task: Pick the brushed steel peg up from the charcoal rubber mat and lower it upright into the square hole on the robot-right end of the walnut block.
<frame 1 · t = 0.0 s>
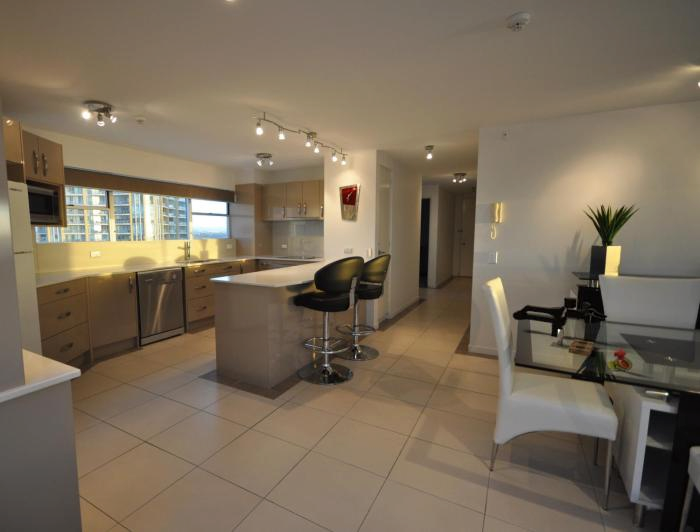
hand: (606, 318, 205), 17 cm above the table, tool horizontal, fingers open, 9 cm apart
peg: (559, 345, 205), resting on mat
bird rattle: (620, 370, 169), on the table
hole block: (581, 349, 198), on the table
mat: (559, 345, 205), on the table
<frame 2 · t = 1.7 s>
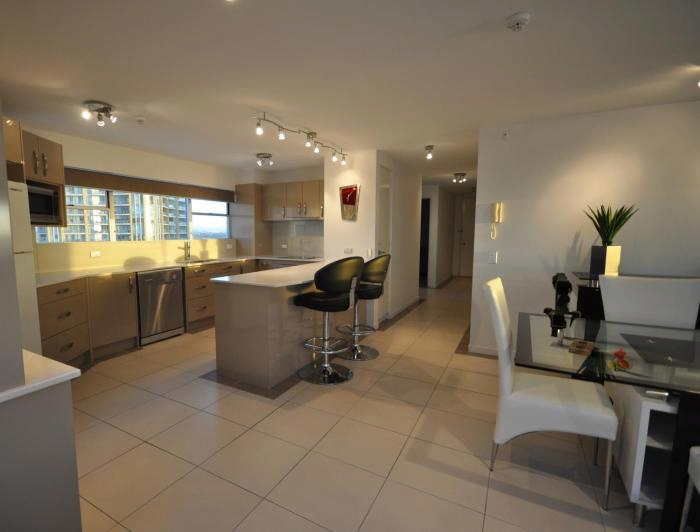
hand: (561, 326, 204), 12 cm above the table, tool pointing down, fingers open, 9 cm apart
nothing on the table moved.
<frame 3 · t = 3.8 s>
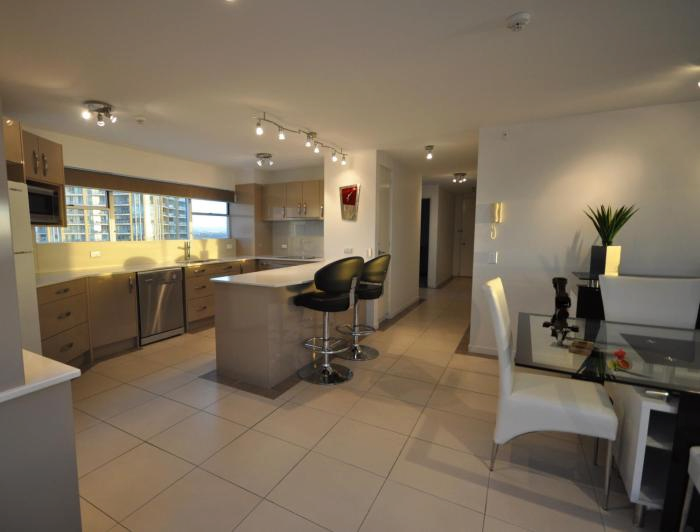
hand: (560, 340, 205), 4 cm above the table, tool pointing down, fingers closed on peg, 3 cm apart
peg: (559, 345, 205), resting on mat, touching gripper
everything else where it was.
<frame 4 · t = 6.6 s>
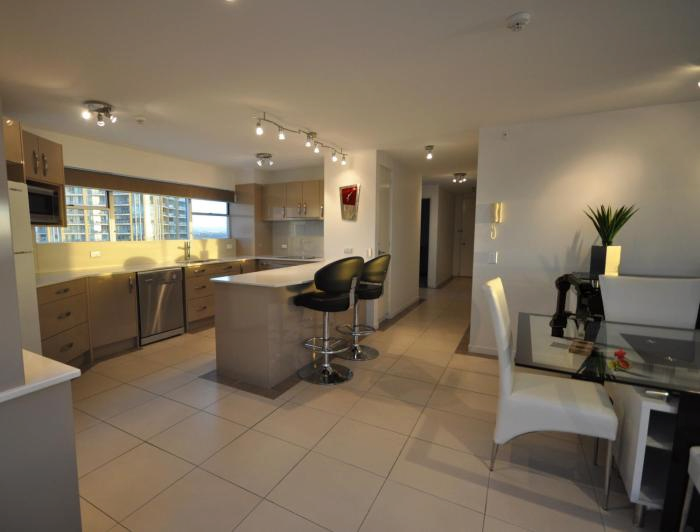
hand: (581, 330, 193), 13 cm above the table, tool pointing down, fingers closed on peg, 3 cm apart
peg: (581, 336, 193), point 10 cm above the table, touching gripper
everything else where it was.
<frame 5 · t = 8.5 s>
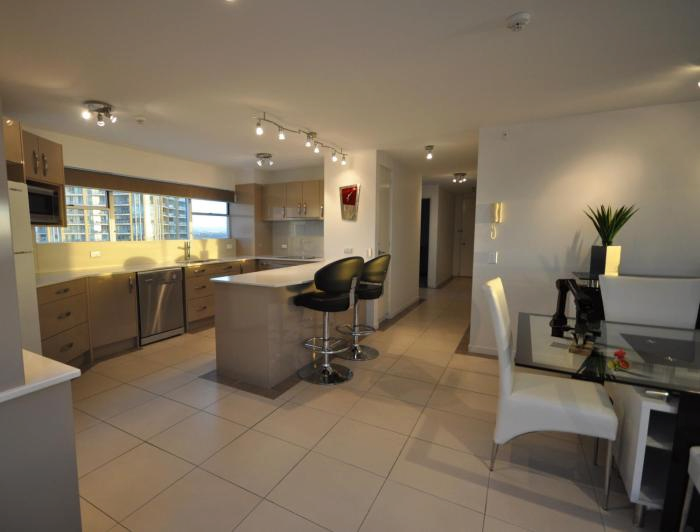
hand: (580, 345, 194), 4 cm above the table, tool pointing down, fingers closed on peg, 3 cm apart
peg: (580, 350, 194), point 1 cm above the table, touching gripper
everything else where it was.
when the fingers open (4 cm above the table, at t = 9.8 s): peg stays where it is, resting in hole block.
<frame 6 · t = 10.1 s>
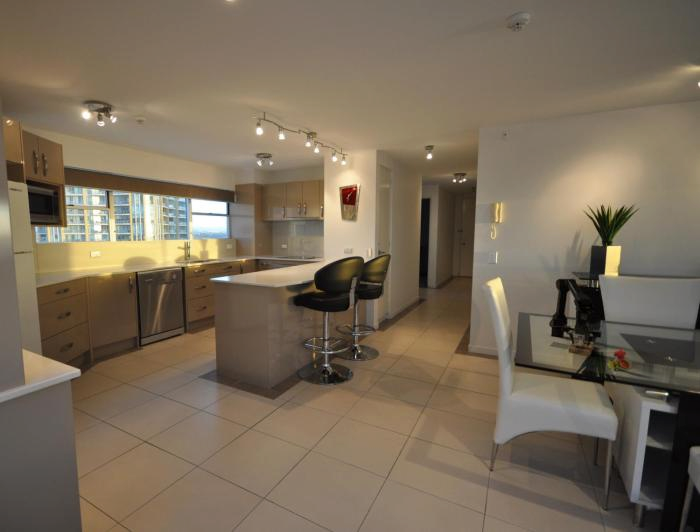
hand: (580, 345, 194), 4 cm above the table, tool pointing down, fingers open, 7 cm apart
peg: (580, 352, 194), resting in hole block
everything else where it was.
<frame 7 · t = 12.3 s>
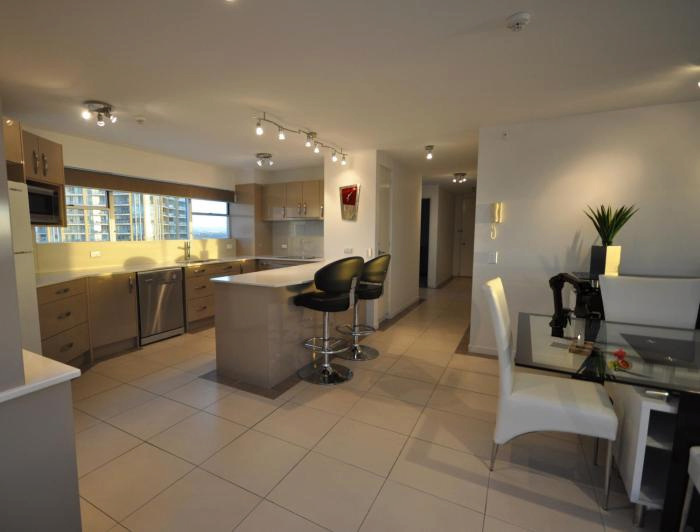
hand: (579, 326, 201), 13 cm above the table, tool pointing down, fingers open, 9 cm apart
nothing on the table moved.
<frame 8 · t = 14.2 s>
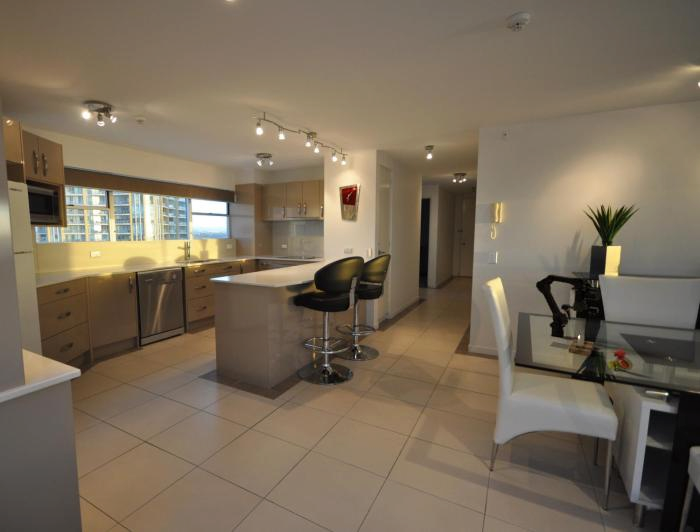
hand: (578, 321, 210), 13 cm above the table, tool pointing down, fingers open, 9 cm apart
nothing on the table moved.
at the end: peg 0.0 cm from the target spot on the hole block, point 0.0 cm above the hole block's base; peg tilted 0°; the gripper is holding nothing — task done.
